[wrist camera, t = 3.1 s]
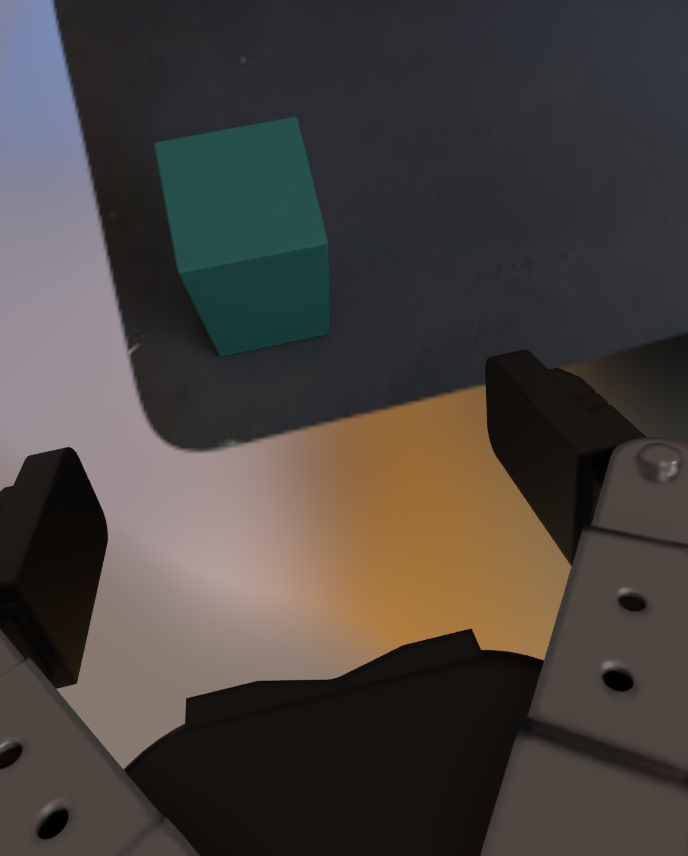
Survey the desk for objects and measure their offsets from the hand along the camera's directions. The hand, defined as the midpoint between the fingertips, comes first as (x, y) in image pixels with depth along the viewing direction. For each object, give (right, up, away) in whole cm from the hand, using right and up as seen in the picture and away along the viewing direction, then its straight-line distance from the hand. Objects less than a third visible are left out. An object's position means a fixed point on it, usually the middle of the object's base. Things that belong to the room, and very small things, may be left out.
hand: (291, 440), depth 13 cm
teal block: (-3, +6, +17) cm, 18 cm away
